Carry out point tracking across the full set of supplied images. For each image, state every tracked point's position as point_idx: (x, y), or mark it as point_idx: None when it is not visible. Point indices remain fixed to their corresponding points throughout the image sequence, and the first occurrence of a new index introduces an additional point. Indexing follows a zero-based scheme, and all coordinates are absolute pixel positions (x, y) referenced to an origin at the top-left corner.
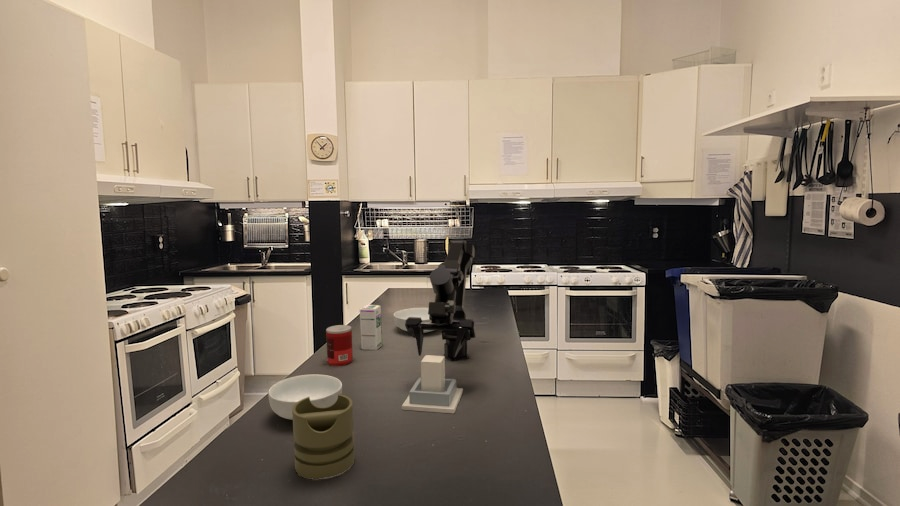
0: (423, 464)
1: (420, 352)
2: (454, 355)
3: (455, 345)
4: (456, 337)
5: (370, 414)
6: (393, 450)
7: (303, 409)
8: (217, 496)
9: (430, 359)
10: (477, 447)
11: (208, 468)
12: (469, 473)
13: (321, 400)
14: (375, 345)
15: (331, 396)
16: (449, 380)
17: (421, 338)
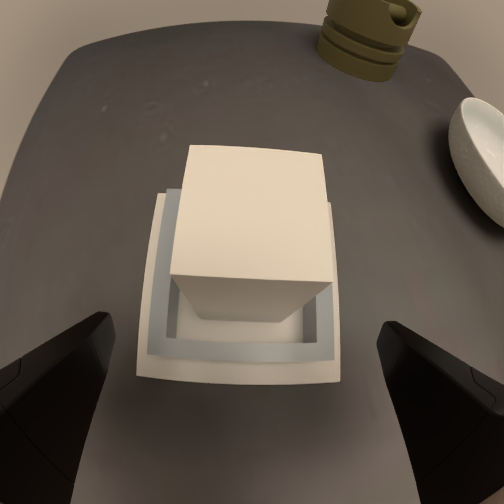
0: (215, 50)
1: (389, 340)
2: (97, 312)
3: (56, 355)
4: (7, 405)
5: (389, 181)
6: (274, 70)
7: (412, 18)
8: (406, 45)
9: (270, 189)
10: (124, 89)
11: (452, 79)
12: (148, 49)
13: (459, 105)
14: None
15: (459, 116)
16: (177, 339)
17: (452, 448)
